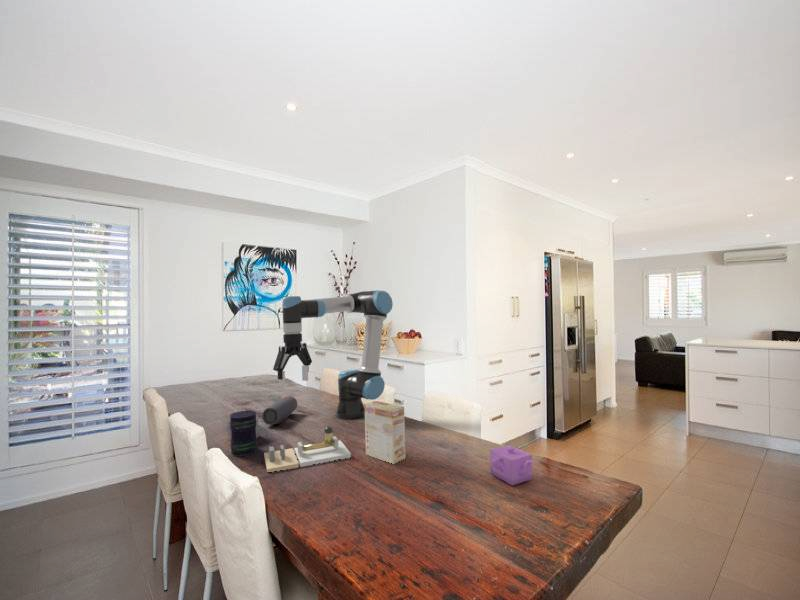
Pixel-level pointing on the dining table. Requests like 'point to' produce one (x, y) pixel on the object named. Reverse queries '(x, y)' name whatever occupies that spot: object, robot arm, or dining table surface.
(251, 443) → the dark blue barrel
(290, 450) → the door lock
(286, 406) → the bluetooth speaker
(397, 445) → the coffeecake box
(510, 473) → the purple knobbed block
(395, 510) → the dining table surface
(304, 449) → the bolt
